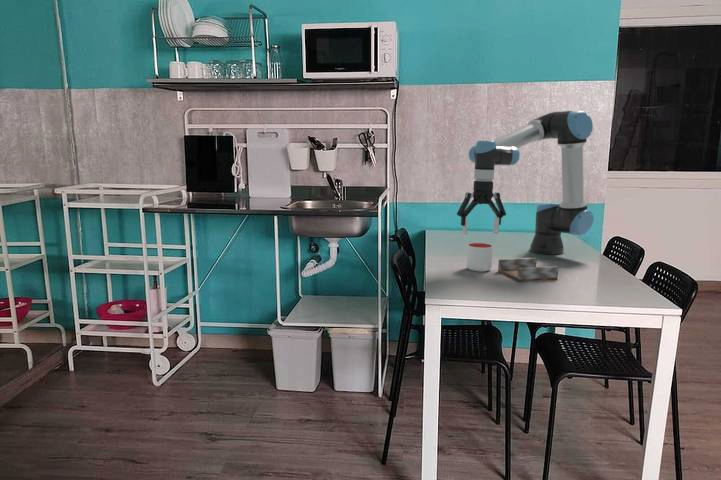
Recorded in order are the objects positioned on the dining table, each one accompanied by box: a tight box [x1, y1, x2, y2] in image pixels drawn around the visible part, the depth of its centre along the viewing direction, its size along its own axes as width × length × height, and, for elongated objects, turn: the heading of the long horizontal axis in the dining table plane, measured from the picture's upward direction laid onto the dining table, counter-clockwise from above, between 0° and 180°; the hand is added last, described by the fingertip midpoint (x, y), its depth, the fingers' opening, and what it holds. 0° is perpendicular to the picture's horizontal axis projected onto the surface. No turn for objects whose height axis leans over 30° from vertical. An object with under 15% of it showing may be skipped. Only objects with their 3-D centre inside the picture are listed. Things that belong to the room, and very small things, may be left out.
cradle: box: [497, 257, 559, 283], centre depth 208 cm, size 16×16×5 cm
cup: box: [466, 242, 494, 273], centre depth 217 cm, size 10×10×10 cm
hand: (480, 233), depth 215 cm, fingers open, 13 cm apart
